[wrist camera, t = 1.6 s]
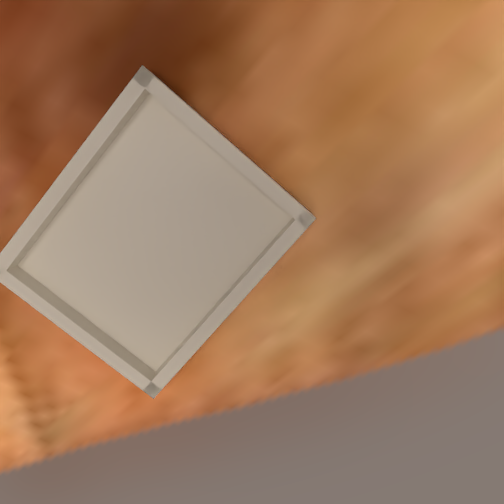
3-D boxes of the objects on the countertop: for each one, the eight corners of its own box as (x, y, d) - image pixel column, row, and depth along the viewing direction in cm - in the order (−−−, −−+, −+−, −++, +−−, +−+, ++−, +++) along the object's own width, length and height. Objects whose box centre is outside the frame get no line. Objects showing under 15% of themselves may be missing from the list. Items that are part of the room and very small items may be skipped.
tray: (5, 263, 34) (-14, 271, 32) (151, 72, 31) (142, 65, 29) (160, 382, 36) (153, 398, 34) (311, 213, 33) (316, 218, 31)
